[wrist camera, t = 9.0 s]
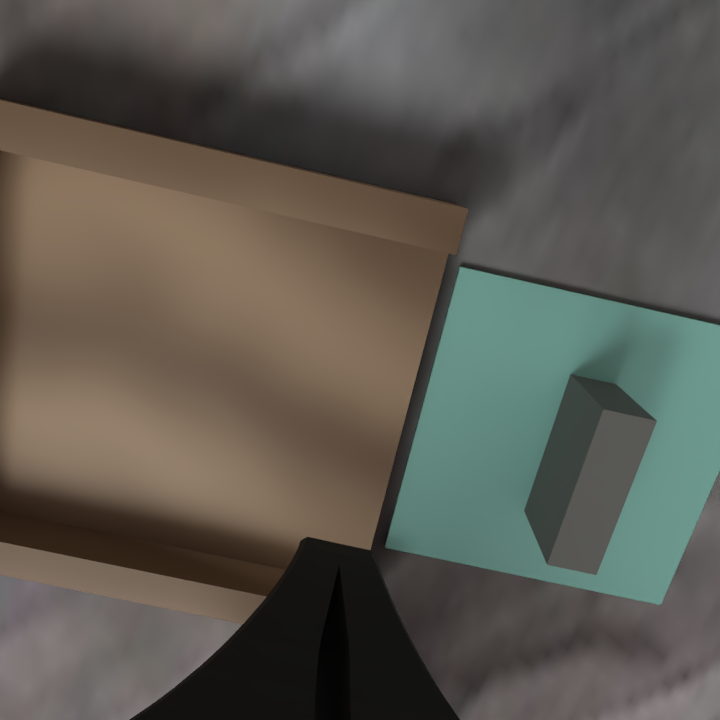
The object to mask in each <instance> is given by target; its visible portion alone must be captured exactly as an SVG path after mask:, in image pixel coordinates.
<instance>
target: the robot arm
mask: <svg viewBox="0 0 720 720" xmlns="http://www.w3.org/2000/svg"><path fill="white" fill-rule="evenodd" d="M130 720H460V719H459V718H458V716H457V715H456V714H455V712H454V711H453V709H452V708H451V706H450V705H449V703H448V702H447V700H446V699H445V698H444V696H443V694H442V693H441V691H440V690H439V688H438V687H437V685H436V683H435V682H434V680H433V678H432V677H431V675H430V673H429V672H428V670H427V668H426V666H425V665H424V663H423V661H422V659H421V658H420V656H419V654H418V652H417V650H416V649H415V647H414V645H413V643H412V641H411V639H410V637H409V635H408V633H407V631H406V629H405V627H404V625H403V623H402V621H401V619H400V617H399V615H398V612H397V610H396V608H395V606H394V604H393V601H392V599H391V597H390V594H389V592H388V590H387V587H386V585H385V582H384V580H383V577H382V574H381V572H380V569H379V566H378V563H377V560H376V557H375V556H374V554H373V552H372V551H371V550H367V549H362V548H358V547H353V546H348V545H344V544H339V543H334V542H330V541H325V540H321V539H316V538H311V537H306V538H304V539H302V540H301V541H300V543H299V547H298V549H297V551H296V553H295V555H294V557H293V559H292V561H291V562H290V564H289V566H288V567H287V569H286V570H285V572H284V573H283V575H282V577H281V578H280V579H279V581H278V582H277V583H276V585H275V586H274V587H273V589H272V590H271V591H270V593H269V594H268V595H267V597H266V598H265V599H264V601H263V602H262V603H261V604H260V605H259V607H258V608H257V609H256V610H255V611H254V612H253V613H252V615H251V616H250V617H249V618H248V619H247V620H246V621H245V623H244V624H243V625H242V626H241V627H240V628H239V629H238V630H237V631H236V632H235V634H234V635H233V636H232V637H231V638H230V639H229V640H228V641H227V642H226V643H225V644H224V645H223V646H222V647H221V648H220V649H218V650H217V651H216V652H215V653H214V654H213V655H212V656H211V657H210V658H209V659H208V660H207V661H206V662H204V663H203V664H202V665H201V666H200V667H199V668H197V669H196V670H195V671H194V672H193V673H191V674H190V675H189V676H188V677H187V678H185V679H184V680H183V681H182V682H181V683H179V684H178V685H177V686H176V687H175V688H173V689H172V690H171V691H169V692H168V693H167V694H166V695H164V696H163V697H162V698H160V699H159V700H158V701H156V702H155V703H153V704H152V705H150V706H149V707H147V708H146V709H144V710H143V711H142V712H140V713H139V714H137V715H136V716H134V717H133V718H131V719H130Z"/></svg>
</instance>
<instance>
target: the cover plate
mask: <svg viewBox="0 0 720 720" xmlns="http://www.w3.org/2000/svg"><path fill="white" fill-rule="evenodd" d="M719 470H720V325H719V324H714V323H710V322H705V321H701V320H696V319H692V318H688V317H683V316H679V315H674V314H670V313H665V312H661V311H657V310H652V309H648V308H643V307H639V306H634V305H630V304H625V303H621V302H617V301H612V300H608V299H603V298H599V297H594V296H590V295H586V294H581V293H577V292H572V291H568V290H563V289H559V288H554V287H550V286H546V285H541V284H537V283H532V282H528V281H523V280H519V279H515V278H510V277H506V276H501V275H497V274H492V273H488V272H483V271H479V270H475V269H470V268H466V267H461V266H459V269H458V273H457V277H456V280H455V284H454V288H453V292H452V295H451V299H450V303H449V307H448V310H447V314H446V318H445V322H444V325H443V329H442V333H441V337H440V340H439V344H438V348H437V352H436V355H435V359H434V363H433V367H432V370H431V374H430V378H429V381H428V385H427V389H426V393H425V396H424V400H423V404H422V408H421V411H420V415H419V419H418V423H417V426H416V430H415V434H414V438H413V441H412V445H411V449H410V453H409V456H408V460H407V464H406V468H405V471H404V475H403V479H402V482H401V486H400V490H399V494H398V497H397V501H396V505H395V509H394V512H393V516H392V520H391V524H390V527H389V531H388V535H387V539H386V542H385V548H389V549H394V550H398V551H403V552H408V553H413V554H418V555H422V556H427V557H432V558H437V559H442V560H447V561H451V562H456V563H461V564H466V565H471V566H475V567H480V568H485V569H490V570H495V571H499V572H504V573H509V574H514V575H519V576H523V577H528V578H533V579H538V580H543V581H547V582H552V583H557V584H562V585H567V586H571V587H576V588H581V589H586V590H591V591H595V592H600V593H605V594H610V595H615V596H619V597H624V598H629V599H634V600H639V601H643V602H648V603H653V604H658V605H661V603H662V601H663V599H664V596H665V594H666V592H667V590H668V587H669V585H670V583H671V580H672V578H673V576H674V574H675V571H676V569H677V567H678V564H679V562H680V560H681V557H682V555H683V553H684V551H685V548H686V546H687V544H688V541H689V539H690V537H691V535H692V532H693V530H694V528H695V525H696V523H697V521H698V519H699V516H700V514H701V512H702V509H703V507H704V505H705V503H706V500H707V498H708V496H709V493H710V491H711V489H712V486H713V484H714V482H715V480H716V477H717V475H718V473H719Z"/></svg>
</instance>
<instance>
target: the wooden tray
mask: <svg viewBox="0 0 720 720" xmlns="http://www.w3.org/2000/svg"><path fill="white" fill-rule="evenodd" d="M468 210H469V209H468V208H465V207H463V206H460V205H458V204H454V203H450V202H446V201H441V200H437V199H433V198H429V197H424V196H420V195H416V194H411V193H407V192H403V191H398V190H394V189H390V188H386V187H381V186H377V185H373V184H368V183H364V182H360V181H355V180H351V179H347V178H343V177H338V176H334V175H330V174H325V173H321V172H317V171H313V170H308V169H304V168H300V167H295V166H291V165H287V164H282V163H278V162H274V161H270V160H265V159H261V158H257V157H252V156H248V155H244V154H239V153H235V152H231V151H227V150H222V149H218V148H214V147H209V146H205V145H201V144H196V143H192V142H188V141H184V140H179V139H175V138H171V137H166V136H162V135H158V134H153V133H149V132H145V131H141V130H136V129H132V128H128V127H123V126H119V125H115V124H110V123H106V122H102V121H98V120H93V119H89V118H85V117H80V116H76V115H72V114H67V113H63V112H59V111H55V110H50V109H46V108H42V107H37V106H33V105H29V104H24V103H20V102H16V101H12V100H7V99H3V98H0V575H5V576H10V577H15V578H19V579H24V580H29V581H34V582H39V583H44V584H49V585H54V586H59V587H64V588H69V589H74V590H78V591H83V592H88V593H93V594H98V595H103V596H108V597H113V598H118V599H123V600H128V601H132V602H137V603H142V604H147V605H152V606H157V607H162V608H167V609H172V610H177V611H182V612H187V613H191V614H196V615H201V616H206V617H211V618H216V619H221V620H226V621H231V622H236V623H241V624H244V623H245V621H246V620H247V619H248V618H249V617H250V616H251V615H252V613H253V612H254V611H255V610H256V609H257V608H258V607H259V605H260V604H261V603H262V602H263V601H264V599H265V598H266V597H267V595H268V594H269V593H270V591H271V590H272V589H273V587H274V586H275V585H276V583H277V582H278V581H279V579H280V578H281V577H282V575H283V573H284V572H285V570H286V569H287V567H288V566H289V564H290V562H291V561H292V559H293V557H294V555H295V553H296V551H297V549H298V547H299V543H300V541H301V540H302V539H304V538H306V537H311V538H316V539H321V540H325V541H330V542H334V543H339V544H344V545H348V546H353V547H358V548H362V549H367V550H371V546H372V542H373V539H374V535H375V531H376V527H377V523H378V520H379V516H380V512H381V508H382V504H383V501H384V497H385V493H386V489H387V485H388V482H389V478H390V474H391V470H392V467H393V463H394V459H395V455H396V451H397V448H398V444H399V440H400V436H401V432H402V429H403V425H404V421H405V417H406V414H407V410H408V406H409V402H410V398H411V395H412V391H413V387H414V383H415V379H416V376H417V372H418V368H419V364H420V360H421V357H422V353H423V349H424V345H425V342H426V338H427V334H428V330H429V326H430V323H431V319H432V315H433V311H434V307H435V304H436V300H437V296H438V292H439V288H440V285H441V281H442V277H443V273H444V270H445V266H446V262H447V258H448V254H449V253H450V254H454V255H457V251H458V248H459V244H460V240H461V237H462V233H463V229H464V225H465V222H466V218H467V214H468Z"/></svg>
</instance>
